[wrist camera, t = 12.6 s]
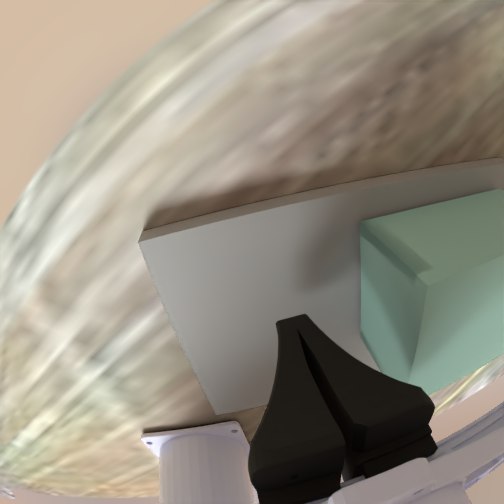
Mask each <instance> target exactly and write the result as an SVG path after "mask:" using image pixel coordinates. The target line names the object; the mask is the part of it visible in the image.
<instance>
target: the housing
mask: <svg viewBox="0 0 504 504" xmlns="http://www.w3.org/2000/svg"><path fill="white" fill-rule="evenodd" d="M359 228H360V255H361V324H360V338H361V339H362V341H363V342H364V344H365V346H366V347H367V349H368V351H369V353H370V354H371V356H372V358H373V359H374V361H375V363H376V364H377V366H378V368H379V369H380V371H381V373H383V374H385V375H387V376H389V377H392V378H394V379H397V380H399V381H402V382H405V383H408V384H412V385H415V386H418V387H421V388H422V389H423V390H424V391H425V393H426V394H427V395H430V394H432V393H434V392H436V391H438V390H440V389H442V388H444V387H446V386H448V385H450V384H452V383H454V382H456V381H457V380H459V379H461V378H463V377H465V376H467V375H468V374H470V373H472V372H474V371H475V370H477V369H479V368H481V367H482V366H484V365H486V364H487V363H489V362H490V361H492V360H494V359H495V358H497V357H498V356H500V355H502V354H503V353H504V191H503V190H501V189H495V190H491V191H487V192H482V193H478V194H474V195H470V196H465V197H461V198H457V199H453V200H449V201H444V202H440V203H436V204H432V205H428V206H423V207H419V208H415V209H411V210H407V211H402V212H398V213H394V214H390V215H386V216H382V217H377V218H373V219H369V220H365V221H361V222H359Z"/></svg>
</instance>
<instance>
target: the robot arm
mask: <svg viewBox="0 0 504 504" xmlns="http://www.w3.org/2000/svg"><path fill="white" fill-rule="evenodd" d="M275 324H276V329H277V334H278V358H277V366H276V373H275V379H274V383H273V388H272V392H271V395H270V398H269V402H268V405H267V408H266V410H265V413H264V415H263V418H262V420H261V423H260V425H259V427H258V429H257V431H256V433H255V435H254V437H253V439H252V441H251V446H250V445H249V443H248V441H247V439H246V437H245V435H244V433H243V430H242V428H241V426H240V424H239V423H238V422H237V421H229V422H224V423H218V424H213V425H207V426H200V427H194V428H187V429H180V430H172V431H164V432H155V433H145V434H142V435H141V440H142V442H143V443H144V444H145V445H146V446H147V447H148V448H149V449H150V450H151V451H152V452H153V453H154V454H155V455H156V456H157V457H158V458H159V500H160V501H159V502H160V504H256V503H255V498H254V493H253V487H252V485H253V486H254V488H255V489H256V491H257V494H258V499H259V504H471V501H470V500H469V498H468V496H467V494H466V492H465V490H466V489H468V488H469V487H471V486H472V485H474V484H475V483H477V482H478V481H479V480H481V479H482V478H484V477H485V476H487V475H488V474H489V473H491V472H492V471H493V470H495V469H496V468H497V467H498V466H500V465H501V464H502V463H504V402H502V403H501V404H500V405H498V406H497V407H495V408H494V409H492V410H491V411H489V412H488V413H486V414H485V415H483V416H482V417H480V418H479V419H477V420H475V421H474V422H472V423H471V424H469V425H467V426H466V427H464V428H462V429H461V430H459V431H457V432H455V433H454V434H452V435H450V436H448V437H446V438H444V439H443V440H441V441H439V442H437V443H435V441H434V440H433V438H432V436H431V433H432V430H431V428H430V426H429V425H428V424H429V422H430V420H431V417H432V415H433V413H434V409H435V406H434V404H433V402H432V400H431V399H430V397H429V396H428V395H427V394H426V393H425V391H424V390H423V389H422V388H421V387H418V386H415V385H412V384H408V383H405V382H402V381H399V380H397V379H394V378H392V377H389V376H387V375H385V374H383V373H381V372H379V371H377V370H375V369H373V368H371V367H369V366H368V365H366V364H364V363H362V362H361V361H359V360H358V359H356V358H355V357H353V356H352V355H350V354H349V353H348V352H346V351H345V350H344V349H342V348H341V347H340V346H339V345H337V344H336V343H335V342H334V341H333V340H332V339H330V338H329V337H328V336H327V335H326V334H325V333H324V332H323V331H322V330H321V329H320V328H319V327H318V326H317V325H316V324H315V323H314V322H313V321H312V320H311V319H310V318H309V316H308V315H306V314H301V315H298V316H294V317H290V318H286V319H283V320H279V321H277V322H276V323H275ZM341 473H342V477H343V480H344V482H342V483H340V481H341Z"/></svg>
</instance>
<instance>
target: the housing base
mask: <svg viewBox="0 0 504 504" xmlns="http://www.w3.org/2000/svg"><path fill="white" fill-rule="evenodd" d="M495 189H501V190H503V191H504V158H502V157H498V158H490V159H483V160H476V161H469V162H462V163H456V164H449V165H443V166H437V167H431V168H425V169H419V170H413V171H407V172H402V173H396V174H391V175H385V176H380V177H374V178H369V179H364V180H359V181H354V182H349V183H344V184H339V185H334V186H329V187H324V188H319V189H314V190H310V191H305V192H300V193H296V194H291V195H287V196H282V197H278V198H273V199H269V200H264V201H260V202H256V203H252V204H247V205H243V206H239V207H235V208H231V209H226V210H222V211H218V212H214V213H210V214H206V215H202V216H198V217H194V218H190V219H187V220H183V221H179V222H175V223H171V224H167V225H164V226H160V227H156V228H153V229H149V230H145V231H142V233H141V236H140V239H139V241H138V244H139V246H140V249H141V252H142V254H143V257H144V259H145V262H146V265H147V267H148V270H149V272H150V275H151V277H152V280H153V282H154V285H155V287H156V290H157V292H158V294H159V297H160V299H161V301H162V304H163V306H164V308H165V311H166V313H167V315H168V318H169V320H170V322H171V324H172V327H173V329H174V331H175V333H176V336H177V338H178V340H179V342H180V344H181V346H182V349H183V351H184V353H185V355H186V357H187V359H188V361H189V363H190V365H191V367H192V369H193V371H194V374H195V376H196V378H197V380H198V382H199V384H200V386H201V387H202V389H203V391H204V393H205V395H206V397H207V399H208V401H209V403H210V405H211V407H212V409H213V411H214V412H215V414H216V416H217V415H222V414H227V413H232V412H237V411H242V410H247V409H251V408H256V407H260V406H264V405H268V402H269V398H270V395H271V392H272V388H273V383H274V379H275V373H276V366H277V358H278V334H277V329H276V324H275V323H276V322H277V321H279V320H283V319H286V318H290V317H294V316H298V315H301V314H306V315H308V316H309V318H310V319H311V320H312V321H313V322H314V323H315V324H316V325H317V326H318V327H319V328H320V329H321V330H322V331H323V332H324V333H325V334H326V335H327V336H328V337H329V338H330V339H332V340H333V341H334V342H335V343H336V344H337V345H339V346H340V347H341V348H342V349H344V350H345V351H346V352H348V353H349V354H350V355H352V356H353V357H355V358H356V359H358V360H359V361H361V362H362V363H364V364H366V365H368V366H369V367H371V368H373V369H375V370H377V371H379V370H380V369H379V368H378V366H377V364H376V363H375V361H374V359H373V358H372V356H371V354H370V353H369V351H368V349H367V347H366V346H365V344H364V342H363V341H362V339H361V338H360V324H361V255H360V228H359V222H361V221H365V220H369V219H373V218H377V217H382V216H386V215H390V214H394V213H398V212H402V211H407V210H411V209H415V208H419V207H423V206H428V205H432V204H436V203H440V202H444V201H449V200H453V199H457V198H461V197H465V196H470V195H474V194H478V193H482V192H487V191H491V190H495Z"/></svg>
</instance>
